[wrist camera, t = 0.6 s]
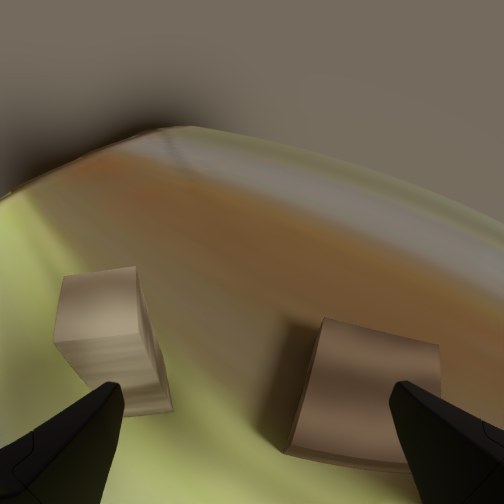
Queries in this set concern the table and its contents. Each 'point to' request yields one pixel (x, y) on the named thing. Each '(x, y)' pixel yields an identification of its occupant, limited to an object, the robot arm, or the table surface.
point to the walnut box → (358, 396)
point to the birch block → (113, 338)
